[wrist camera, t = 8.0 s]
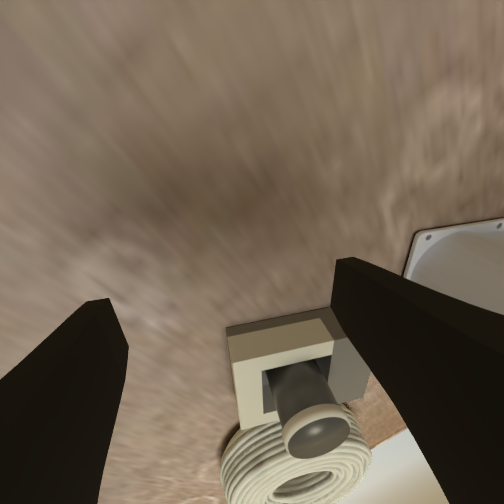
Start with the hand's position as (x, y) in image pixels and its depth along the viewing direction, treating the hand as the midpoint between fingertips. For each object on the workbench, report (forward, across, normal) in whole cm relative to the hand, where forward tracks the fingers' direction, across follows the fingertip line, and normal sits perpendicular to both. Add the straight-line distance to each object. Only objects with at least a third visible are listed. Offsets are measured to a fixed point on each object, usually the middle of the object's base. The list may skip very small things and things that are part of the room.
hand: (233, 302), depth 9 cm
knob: (+8, -5, +14) cm, 17 cm away
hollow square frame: (+9, -6, +15) cm, 19 cm away
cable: (+10, -6, +31) cm, 33 cm away
